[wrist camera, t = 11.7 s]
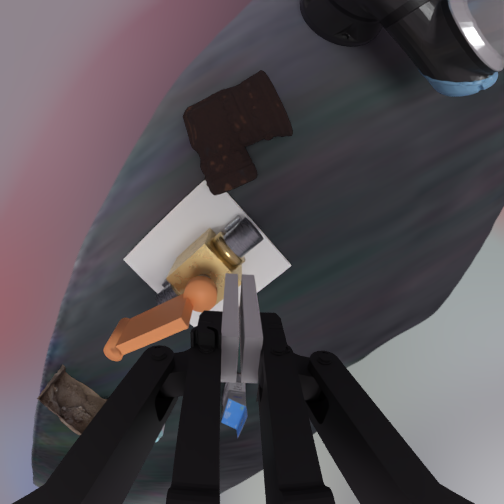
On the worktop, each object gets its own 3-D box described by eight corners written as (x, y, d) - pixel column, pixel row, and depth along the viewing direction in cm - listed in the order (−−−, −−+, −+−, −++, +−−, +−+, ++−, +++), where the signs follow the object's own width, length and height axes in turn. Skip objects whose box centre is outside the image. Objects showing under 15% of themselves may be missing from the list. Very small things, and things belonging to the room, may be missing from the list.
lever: (207, 270, 39) (201, 295, 32) (223, 296, 40) (221, 325, 33) (112, 317, 40) (96, 344, 34) (129, 339, 42) (115, 367, 35)
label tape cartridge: (228, 370, 61) (227, 412, 49) (245, 373, 61) (248, 415, 50) (221, 396, 64) (219, 436, 52) (237, 398, 64) (238, 438, 52)
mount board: (210, 174, 47) (210, 174, 46) (290, 263, 53) (291, 265, 52) (125, 257, 51) (123, 259, 50) (202, 331, 57) (202, 334, 56)
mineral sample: (113, 397, 63) (97, 440, 49) (108, 403, 64) (92, 445, 50) (60, 360, 59) (35, 400, 45) (57, 368, 60) (33, 406, 46)
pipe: (205, 202, 40) (307, 158, 37) (162, 108, 36) (261, 61, 33) (219, 194, 49) (302, 158, 46) (184, 116, 45) (265, 79, 42)
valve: (236, 204, 48) (237, 220, 37) (268, 239, 50) (276, 264, 39) (154, 277, 51) (136, 309, 41) (185, 307, 54) (175, 343, 43)
